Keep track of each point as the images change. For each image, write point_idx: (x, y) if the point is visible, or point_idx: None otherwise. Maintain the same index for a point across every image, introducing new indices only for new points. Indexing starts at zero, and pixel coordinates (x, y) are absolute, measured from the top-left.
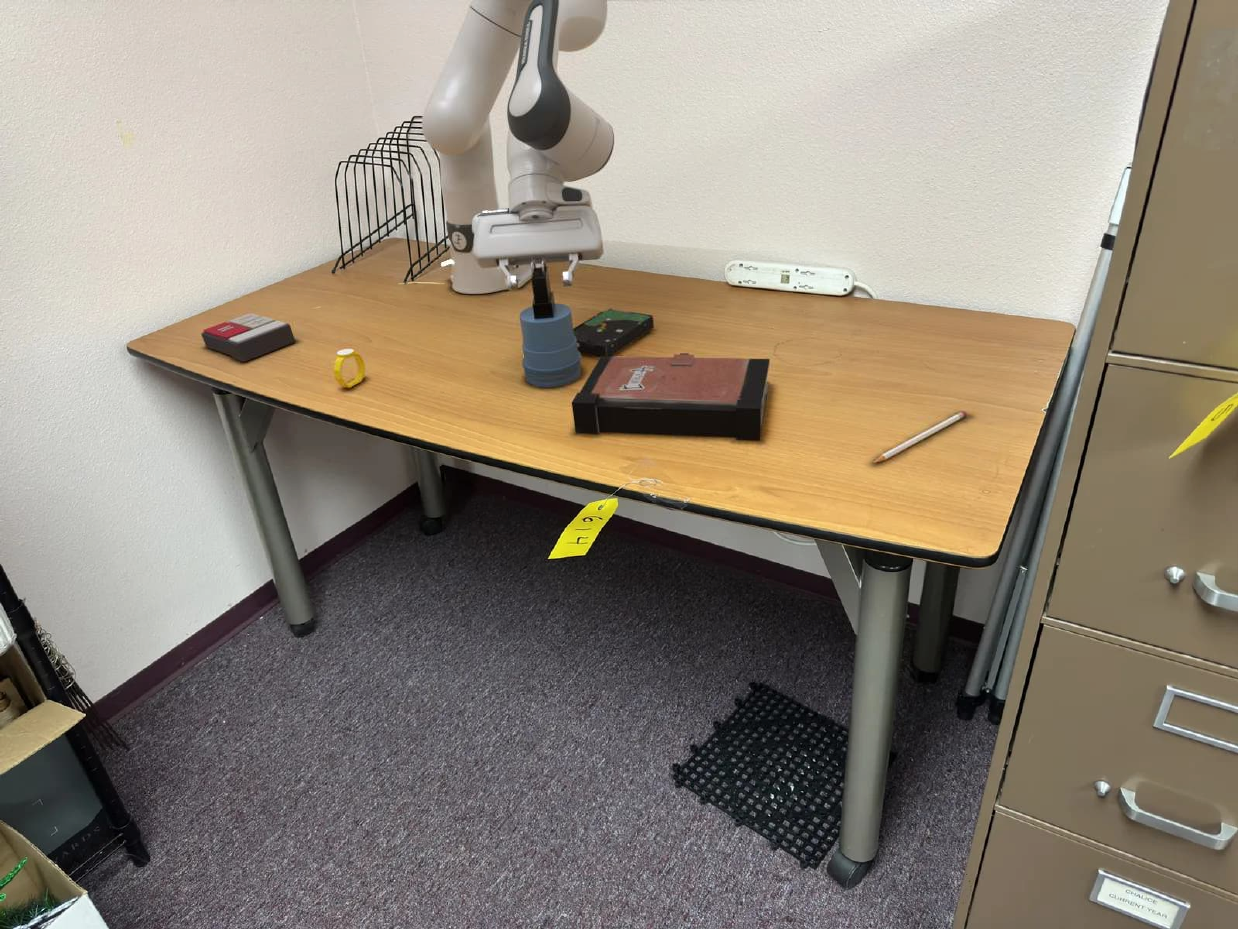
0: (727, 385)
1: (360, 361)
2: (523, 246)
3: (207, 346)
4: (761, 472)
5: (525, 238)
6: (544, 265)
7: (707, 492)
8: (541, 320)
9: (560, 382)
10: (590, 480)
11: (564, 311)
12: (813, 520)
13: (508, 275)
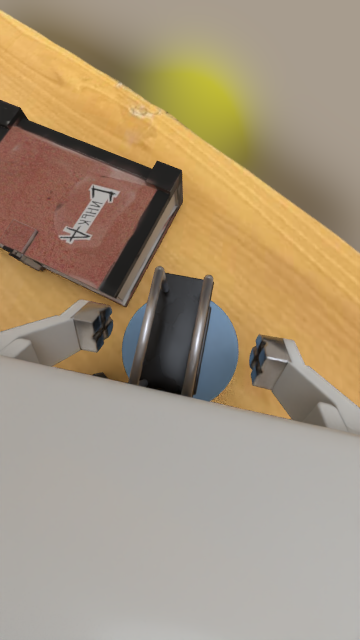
0: (3, 162)
1: None
2: (246, 459)
3: None
4: (51, 101)
5: (229, 560)
6: (143, 380)
7: (101, 88)
8: None
9: None
10: (184, 126)
11: (138, 334)
12: (48, 46)
13: (299, 364)
